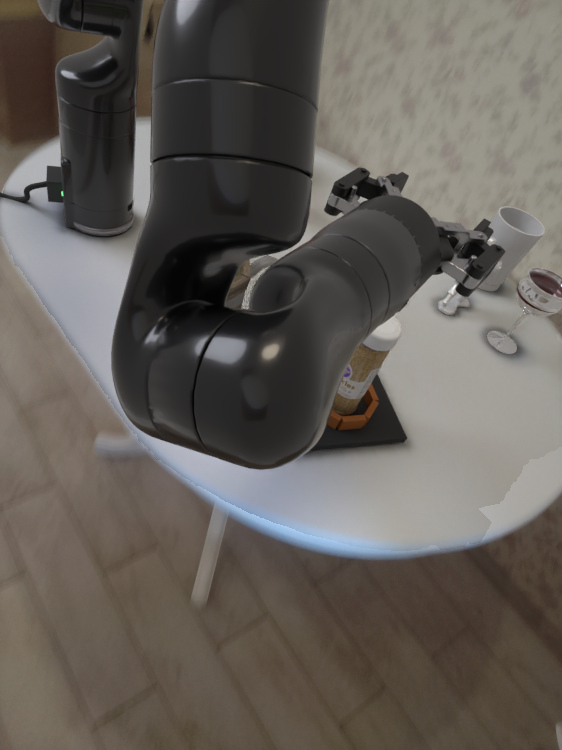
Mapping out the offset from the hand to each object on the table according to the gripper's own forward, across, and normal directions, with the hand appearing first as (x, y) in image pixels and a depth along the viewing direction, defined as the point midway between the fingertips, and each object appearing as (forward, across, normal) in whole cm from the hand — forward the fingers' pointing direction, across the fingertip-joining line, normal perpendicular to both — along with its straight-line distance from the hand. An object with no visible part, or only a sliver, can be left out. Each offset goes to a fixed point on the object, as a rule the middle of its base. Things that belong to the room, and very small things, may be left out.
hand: (440, 206), depth 47 cm
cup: (+42, -6, +23) cm, 48 cm away
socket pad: (-3, -1, +26) cm, 26 cm away
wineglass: (+28, -14, +24) cm, 40 cm away
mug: (-5, +17, +26) cm, 32 cm away
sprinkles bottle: (-3, -1, +25) cm, 25 cm away
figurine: (+31, -5, +24) cm, 39 cm away
